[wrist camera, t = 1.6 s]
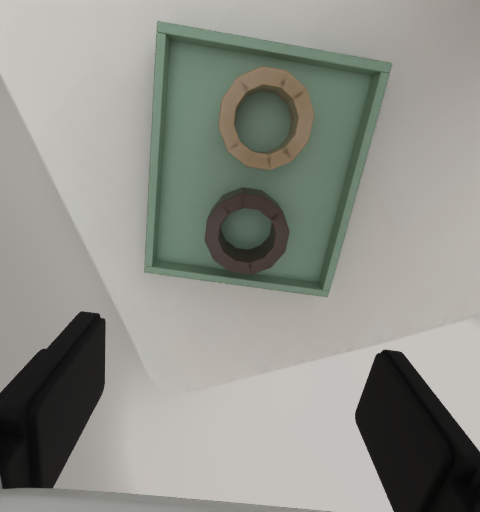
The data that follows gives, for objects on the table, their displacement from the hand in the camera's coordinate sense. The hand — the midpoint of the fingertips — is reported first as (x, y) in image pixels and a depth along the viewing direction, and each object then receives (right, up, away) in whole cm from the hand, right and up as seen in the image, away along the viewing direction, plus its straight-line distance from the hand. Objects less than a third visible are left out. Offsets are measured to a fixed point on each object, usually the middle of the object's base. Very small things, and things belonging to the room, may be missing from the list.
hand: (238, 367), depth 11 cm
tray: (+1, +10, +14) cm, 18 cm away
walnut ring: (+1, +6, +15) cm, 16 cm away
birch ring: (+2, +14, +12) cm, 18 cm away
